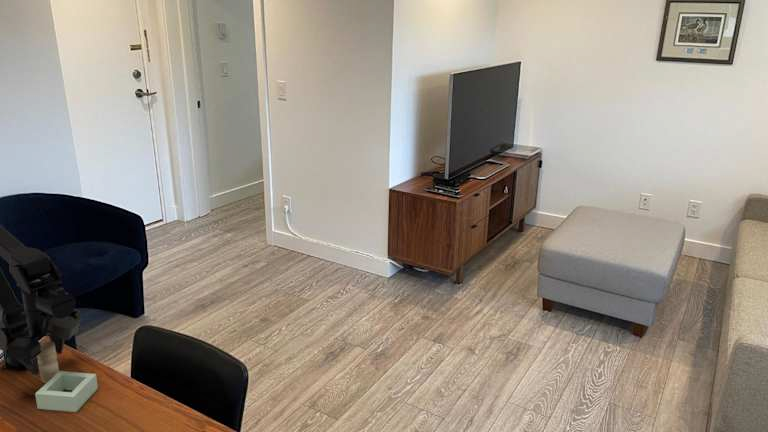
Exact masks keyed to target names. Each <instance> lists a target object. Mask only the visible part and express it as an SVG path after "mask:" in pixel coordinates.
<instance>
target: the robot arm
mask: <svg viewBox="0 0 768 432" xmlns="http://www.w3.org/2000/svg"><path fill="white" fill-rule="evenodd" d="M0 258H2V259H3V260H4V261H6V262H7V264H8V265H9V268H8V269H9V274H10V275H11V277H12V278H13V279H14V280H15V282H16V286H17V288H20V291H21V296H22V297H21V298H22V303H23V304H22V303H20V302H19V300H18V299H17V297H16V295H15V293H14V291H13V290H12V289H13V288H11V285H10V283H9V281H8V280H7V277H6V276H5V274H4V272H3V270H2V269H1V267H0V350H1V351H2V353H3V359H4V360H3V361H4V364H3V365H2V366H0V368H1V370H5V371H8V370H9V371H20V372H25V371H29V372H30V373H31V374H32V375H35V376H38V374H39V365H38V358H37V356H38V355H39V354H40V353H41V352H42V351H40V348H41V346H40V343H41V341H42V340H44V339H45V338H46V337H48V336H49V338H50V341H51V342H54V343H55V349H56V355H57V354H59V355H61V354H62V353H63V351H64V346H65V341H69V340H70V339H72V337H73V336H74V335H76V334H77V333H78V330H79V326H80V325H82V324H83V320H82V319H83V318H82V317H83V316H82V314H81V311H80V310H78V309H76V304H77V303H76V299H75V297H74V296H73V295H72V294H70V293H67V292H66V289H65V288H64V287H61V286H58V285H57V284H60V283H62V282H63V278H62V277H61V274H62V273H61V272H60V271H59V269H58V268H57V266H56V265H55V263H54V262H53V261H52V259H51V257H50V256H48V254H46V253H44V252H42V251H41V250H39V249H38V248H36V247H29V246H26V245H24V244H23V243H22V242H21V241H19V240H18V239H17V238H16V237H14V236H13V235H12V234H11V233H10V232H9V231H8V230H6V228H5V227H3V226H2V225H1V224H0ZM49 276H50V277H49ZM45 277H47V278H45ZM42 278H44V279H42ZM41 279H42V280H41Z"/></svg>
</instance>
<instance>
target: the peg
mask: <svg viewBox="0 0 768 432" xmlns="http://www.w3.org/2000/svg"><path fill="white" fill-rule="evenodd" d="M39 343H40V346H41V348H40V351H42V352H41V353H40V354H39V355H38V356H37V358H38V372H39V376H40V381H41V382H42V383H45V384H46V383H47V382H48V381H49V380H50V379H51V378H53V377H54V376H55V375H56V374H57V373H58V372H59V371H60V368H59V363H58V362H59V361H58V356H57V352H56V349H55V343H54V342H52V341H51V340H50V341H48V340H47V341H43V342H39Z"/></svg>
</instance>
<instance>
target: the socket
mask: <svg viewBox="0 0 768 432" xmlns="http://www.w3.org/2000/svg"><path fill="white" fill-rule="evenodd" d="M98 386H99V385H98V379H97V373H87V372H76V371H65V370H59V372H58V373H57V374H56V375H55V376H54V377H53V378H51V379H50V380H49V381H48V382H47V383H45V384H44V385H43V386H42V387H41V388H39V390H37V391H36V392H35V393H34V396H35V400H36V401H35V402H36V407H37V409H38V410H46V411H47V410H48V411H58V412H68V413H69V412H70V413H77V412H78V411H79V410H80V408H82V407H83V405H84V404H85V403H86V402H87V401H88V400H89V399H90V398H91V397H92V395H93V394H95V392H96V391H97V390H98V389H99V387H98ZM64 390H65V391H64ZM66 390H67V391H66Z"/></svg>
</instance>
